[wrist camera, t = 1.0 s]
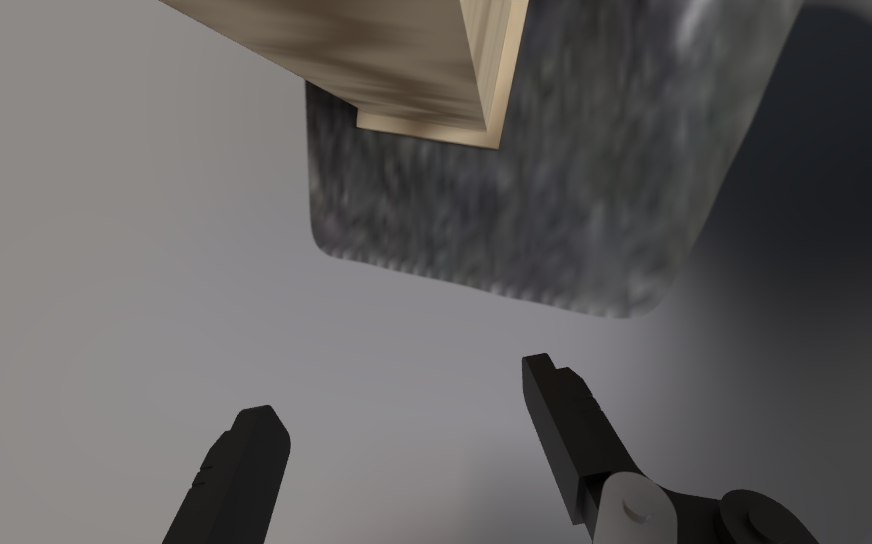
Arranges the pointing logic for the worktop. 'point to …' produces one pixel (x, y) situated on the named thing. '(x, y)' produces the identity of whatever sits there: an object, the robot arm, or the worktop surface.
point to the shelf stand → (389, 57)
